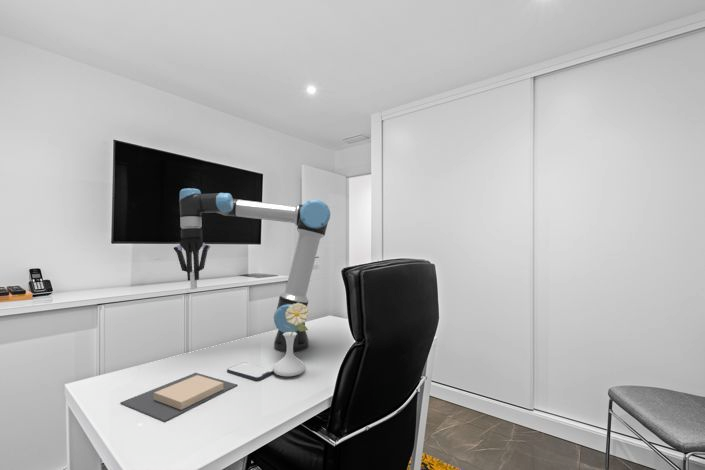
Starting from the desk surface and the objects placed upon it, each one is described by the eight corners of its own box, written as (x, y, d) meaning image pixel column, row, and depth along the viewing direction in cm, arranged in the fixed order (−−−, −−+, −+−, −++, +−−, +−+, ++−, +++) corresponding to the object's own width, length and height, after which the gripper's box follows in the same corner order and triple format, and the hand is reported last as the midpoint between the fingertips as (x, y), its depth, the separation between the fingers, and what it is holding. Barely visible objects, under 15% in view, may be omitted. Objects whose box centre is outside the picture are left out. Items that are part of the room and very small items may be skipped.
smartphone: (225, 374, 114) (257, 383, 106) (225, 369, 114) (257, 378, 106) (244, 366, 122) (276, 374, 114) (244, 361, 122) (276, 369, 114)
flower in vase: (266, 376, 111) (267, 303, 111) (284, 365, 121) (285, 298, 122) (299, 382, 106) (300, 306, 107) (315, 370, 117) (316, 301, 118)
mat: (195, 373, 112) (195, 372, 112) (237, 385, 103) (237, 384, 103) (120, 403, 91) (120, 402, 91) (164, 422, 82) (164, 420, 82)
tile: (197, 375, 105) (223, 382, 99) (197, 382, 105) (223, 390, 99) (154, 392, 92) (181, 402, 87) (153, 400, 92) (181, 411, 87)
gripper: (211, 228, 131) (214, 286, 130) (177, 230, 129) (179, 289, 128) (206, 226, 124) (208, 288, 123) (169, 228, 122) (171, 291, 121)
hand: (193, 288), depth 125 cm, fingers closed
